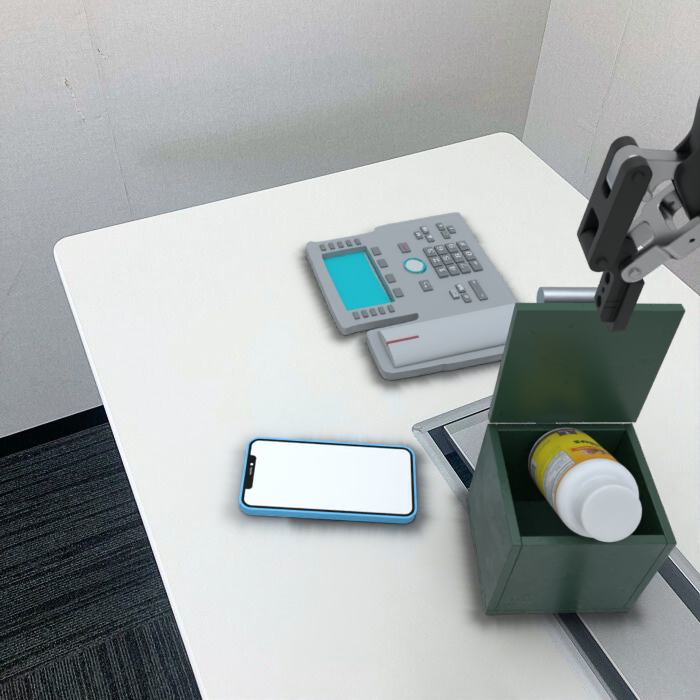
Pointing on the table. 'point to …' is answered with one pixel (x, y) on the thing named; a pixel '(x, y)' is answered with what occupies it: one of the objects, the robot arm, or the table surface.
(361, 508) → the smartphone
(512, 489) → the waste bin
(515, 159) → the table surface
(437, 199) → the table surface
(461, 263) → the office telephone
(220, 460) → the table surface
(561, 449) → the supplement bottle
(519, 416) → the bin lid
